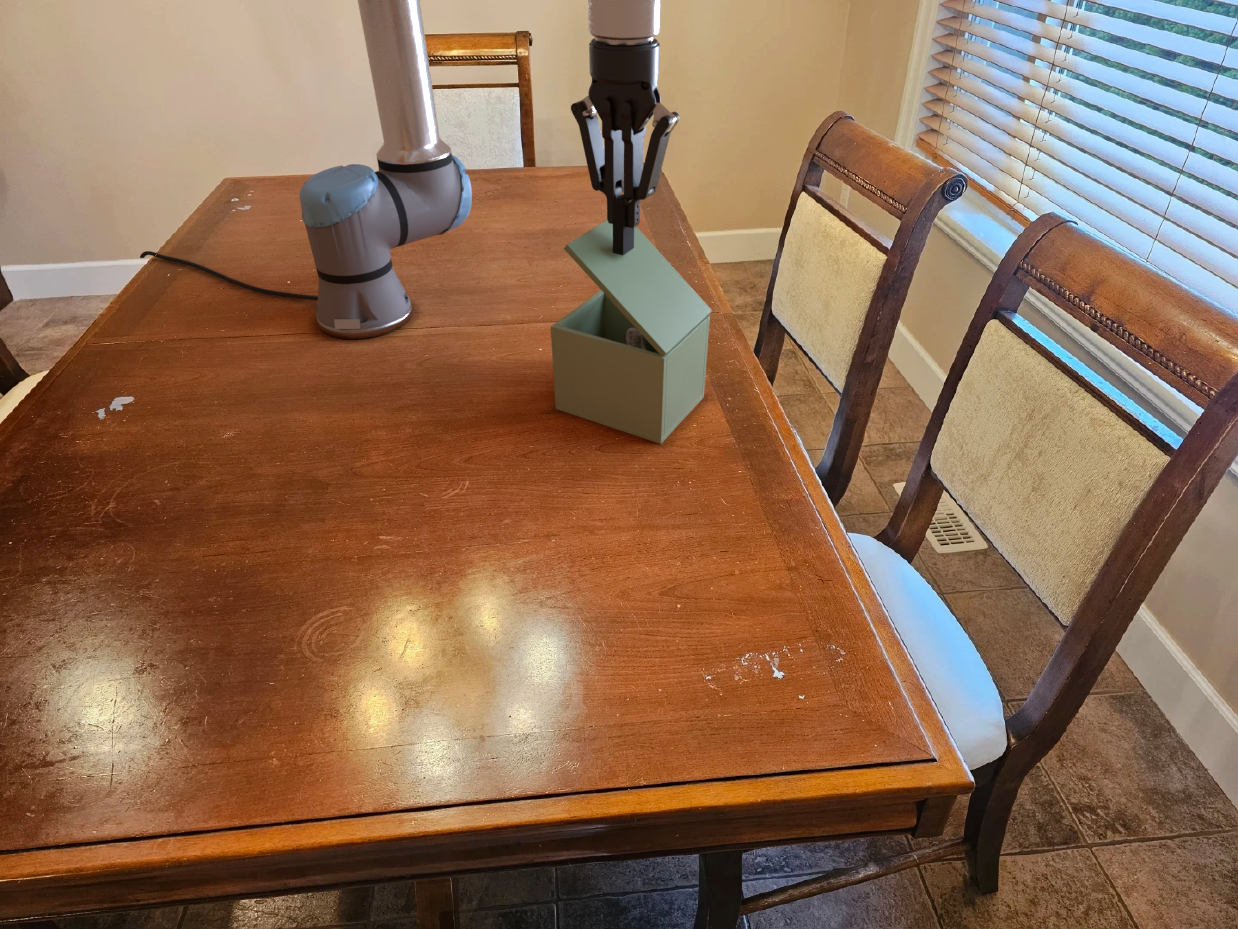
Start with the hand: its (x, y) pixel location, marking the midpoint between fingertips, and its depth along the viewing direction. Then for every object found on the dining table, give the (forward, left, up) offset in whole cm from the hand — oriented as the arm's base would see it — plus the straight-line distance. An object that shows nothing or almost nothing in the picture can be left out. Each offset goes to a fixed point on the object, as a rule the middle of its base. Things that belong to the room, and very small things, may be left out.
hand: (623, 250), depth 99 cm
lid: (+2, 0, -4) cm, 5 cm away
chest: (+1, 0, -22) cm, 22 cm away
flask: (+2, 0, -22) cm, 22 cm away
